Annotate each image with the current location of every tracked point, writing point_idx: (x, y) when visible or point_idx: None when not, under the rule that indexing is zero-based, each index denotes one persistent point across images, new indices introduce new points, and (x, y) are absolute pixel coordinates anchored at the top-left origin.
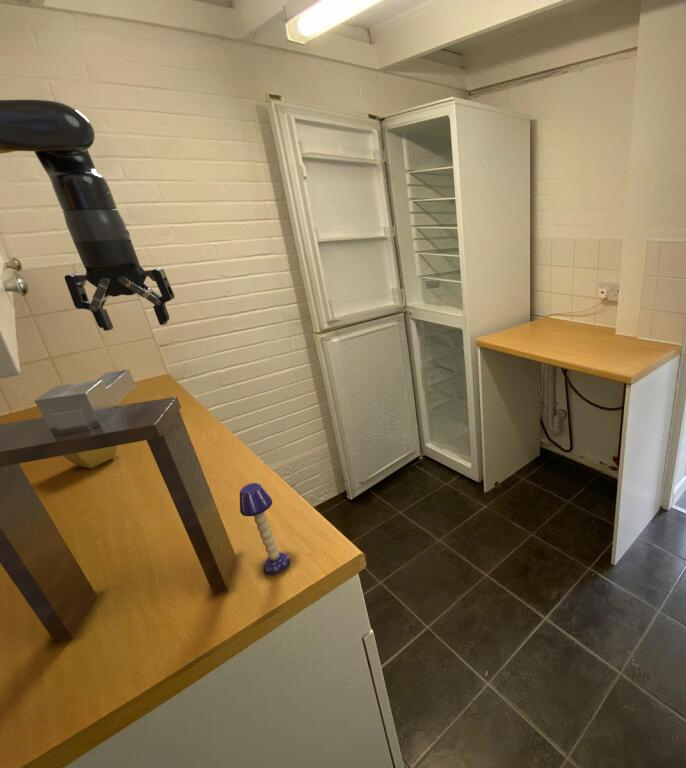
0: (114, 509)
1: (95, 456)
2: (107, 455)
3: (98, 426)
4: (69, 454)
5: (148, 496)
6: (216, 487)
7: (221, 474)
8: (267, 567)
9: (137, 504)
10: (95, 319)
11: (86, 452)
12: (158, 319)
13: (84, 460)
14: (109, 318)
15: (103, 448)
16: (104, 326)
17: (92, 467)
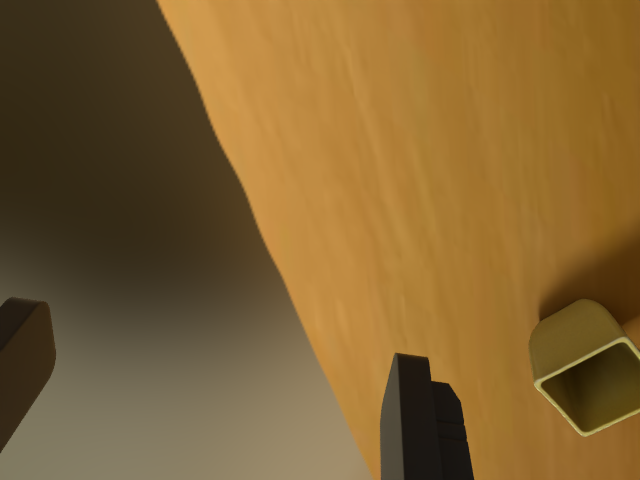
0: (527, 50)
1: (573, 315)
2: (549, 322)
3: None
4: (627, 335)
5: (453, 70)
6: (289, 10)
7: (282, 80)
8: None
9: (476, 42)
10: (467, 447)
11: (591, 320)
12: (14, 325)
13: (595, 305)
14: (381, 476)
15: (556, 332)
16: (414, 373)
17: (580, 299)
